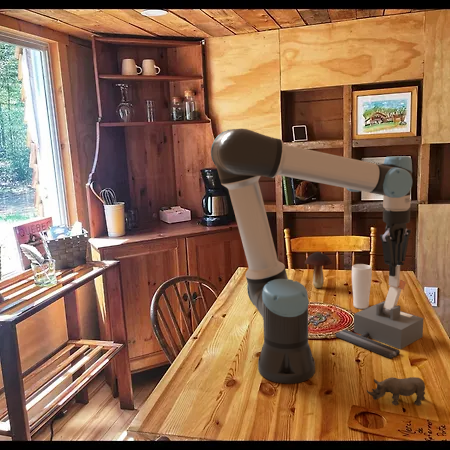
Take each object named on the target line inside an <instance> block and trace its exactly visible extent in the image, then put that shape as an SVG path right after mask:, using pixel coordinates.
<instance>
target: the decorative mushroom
mask: <svg viewBox="0 0 450 450" xmlns="http://www.w3.org/2000/svg"><path fill="white" fill-rule="evenodd" d="M304 264H305V265H310V266H314V267H313V274H312V286H313V287H314V288H316V289H321V288H322V287H323V286H324V279H325V278H324V269H323V266H324V267H325V266H330V265H332V264H333V261H332V259H331V258H330V257H329V256H328V255H326V253H323V252H320V251H316V252H313V253H311V254H309V256H307V257H306V259H305V261H304Z"/></svg>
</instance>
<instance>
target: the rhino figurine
mask: <svg viewBox="0 0 450 450" xmlns="http://www.w3.org/2000/svg"><path fill="white" fill-rule="evenodd" d="M373 382H374V383H375V384H376V388H372V391H369V390H368V389H366V393H367V394H368V395H369V396H371V397H372V398H373V400H374V401H376V400H378V399H380V398H382V397H384V396H385V394H386V393H390V394H392V396H391V399H393V400H392V402H391V403H392V405H393V406H398V405H399V404H400V403H399V398H400V396H403V397H410V396H412V395H414V394H415V395H416V398H415V400H414V402H413V404H414V405H415V406H422V401H424V400H426V397H425V395H426V392H425V391H426V382H425V381H424V380H423V379H422V378H420V377H414V376H413V377H412V376H411V377H405V378H397V377H394V376H393V377H391V376H390V377H388V378H386V379H383V380H382V381H378V380H377V379H373Z"/></svg>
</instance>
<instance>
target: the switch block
mask: <svg viewBox="0 0 450 450" xmlns="http://www.w3.org/2000/svg"><path fill="white" fill-rule="evenodd" d="M384 303H385V301H382V302H379V303H376V304H374V305H372V306H369V307H368V308H366V309H361V310H360V311H358V312H355V313H353V333H355V334H358V335H360V336H361V335H363V334H365V333H369V335H370V336H369V337H368V339H371V340H374V341H376V342H379V343H382V344H384V345H387V346H390V347H392V348H395V349H397V350H402V349H404V348H406V347H407V346H409V345H411V344H413V343H414V342H416V341H418V340H419V339H421V338H423V336H424V335H423V334H424V317H420V316H418V315H414V314H411V313H408V312H406V311H405V312H404V311H402V310H401V308H402V307H401V305H399V304H398V305H396V306H395V307H393V308H391V312H390V315H387V314H384V313H382V309H383V307H384Z"/></svg>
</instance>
